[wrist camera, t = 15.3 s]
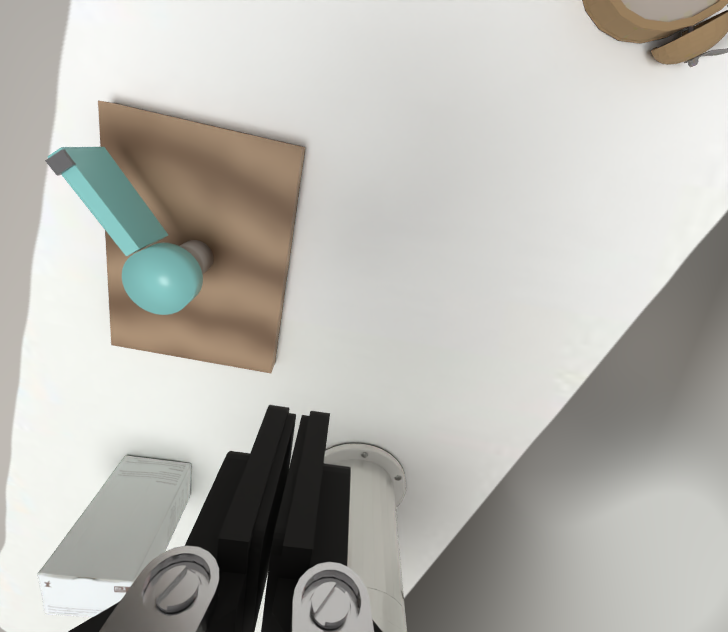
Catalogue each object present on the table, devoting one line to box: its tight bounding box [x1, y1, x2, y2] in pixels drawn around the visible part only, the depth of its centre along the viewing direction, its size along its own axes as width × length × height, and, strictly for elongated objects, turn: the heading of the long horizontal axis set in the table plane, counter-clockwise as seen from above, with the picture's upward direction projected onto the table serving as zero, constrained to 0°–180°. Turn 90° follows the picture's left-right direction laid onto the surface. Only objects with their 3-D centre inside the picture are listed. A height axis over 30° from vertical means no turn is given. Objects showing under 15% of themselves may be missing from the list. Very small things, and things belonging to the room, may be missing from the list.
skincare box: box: [37, 456, 191, 617], centre depth 42 cm, size 8×6×15 cm
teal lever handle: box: [46, 147, 203, 315], centre depth 29 cm, size 12×5×5 cm, turn 28°
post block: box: [98, 101, 305, 373], centre depth 34 cm, size 22×16×7 cm
